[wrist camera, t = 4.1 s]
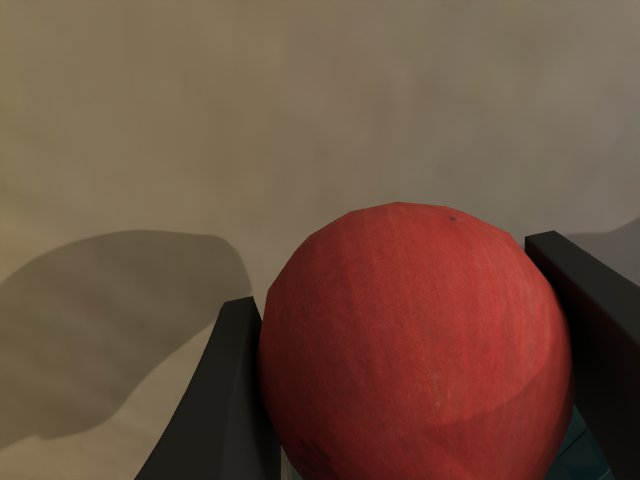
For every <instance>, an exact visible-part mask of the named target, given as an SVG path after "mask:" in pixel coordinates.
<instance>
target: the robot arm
mask: <svg viewBox="0 0 640 480" xmlns="http://www.w3.org/2000/svg"><path fill="white" fill-rule="evenodd" d="M525 253H526V255H527V256H528V257H529V258H530V259H531V261H532V262H533V263H534V264H535V266H536V267H537V268H538V269H539V271H540V272H541V273H542V274H543V275H544V277H545V278H546V279H547V280H548V282H549V283H550V284H551V285H552V287H553V288H554V289H555V290H556V291H557V294H558V297H559V299H560V302H561V304H562V307H563V310H564V312H565V315H566V318H567V320H568V323H569V329H570V340H571V350H572V361H573V372H574V382H575V395H574V405H575V406H576V408H577V410H578V411H579V413H580V415H581V416H582V418H583V420H584V421H585V423H586V425H587V426H588V428H589V430H590V431H591V433H592V435H593V436H594V438H595V440H596V442H597V444H598V445H599V447H600V449H601V451H602V453H603V455H604V457H605V458H606V460H607V463H608V465H609V467H610V469H611V471H612V473H613V475H614V477H615V480H640V287H639V286H637V285H635V284H634V283H632V282H631V281H629V280H628V279H626V278H624V277H623V276H621V275H620V274H618V273H617V272H615V271H614V270H612V269H611V268H609V267H608V266H606V265H605V264H603V263H602V262H600V261H599V260H597V259H596V258H594V257H593V256H591V255H590V254H588V253H587V252H585V251H584V250H582V249H581V248H580V247H578V246H577V245H575V244H574V243H572V242H571V241H569V240H568V239H566V238H565V237H563V236H562V235H560V234H559V233H557V232H556V231H554V230H553V231H549V232H544V233H540V234H535V235H530V236H526V237H525ZM261 327H262V320H261V317H260V314H259V312H258V309H257V306H256V304H255V301H254V298H253V296H251V297H246V298H242V299H237V300H232V301H228V302H225V303H224V304H223V306H222V307H221V310H220V312H219V315H218V318H217V320H216V323H215V326H214V328H213V331H212V333H211V336H210V338H209V341H208V343H207V345H206V348H205V350H204V353H203V355H202V357H201V359H200V362H199V364H198V366H197V368H196V370H195V372H194V375H193V377H192V379H191V381H190V383H189V385H188V387H187V389H186V391H185V393H184V395H183V397H182V399H181V401H180V403H179V405H178V407H177V409H176V411H175V412H174V414H173V416H172V418H171V420H170V422H169V424H168V426H167V427H166V429H165V431H164V433H163V434H162V436H161V438H160V439H159V441H158V443H157V444H156V446H155V448H154V449H153V451H152V453H151V454H150V456H149V457H148V459H147V461H146V462H145V464H144V465H143V467H142V468H141V470H140V471H139V473H138V474H137V476H136V477H135V479H134V480H281V442H280V440H279V438H278V435H277V433H276V431H275V429H274V427H273V425H272V422H271V420H270V418H269V416H268V414H267V411H266V409H265V407H264V405H263V403H262V400H261V397H260V391H259V385H258V379H257V368H256V356H257V350H258V345H259V339H260V333H261Z"/></svg>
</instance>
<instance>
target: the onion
mask: <svg viewBox="0 0 640 480" xmlns="http://www.w3.org/2000/svg"><path fill="white" fill-rule="evenodd" d="M256 368H257V379H258V385H259V391H260V397H261V400H262V403H263V405H264V407H265V409H266V411H267V414H268V416H269V418H270V420H271V422H272V425H273V427H274V429H275V431H276V433H277V435H278V438H279V440H280V442H281V444H282V446H283V449H284V451H285V453H286V455H287V457H288V460H289V462H290V463H291V464H292V466H293V467H294V468H295V469H296V471H297V472H298V473H299V475H300V476H301V477H302V478H303V480H543V479H544V477H545V475H546V474H547V472H548V470H549V468H550V466H551V465H552V463H553V461H554V459H555V457H556V455H557V453H558V451H559V449H560V447H561V445H562V443H563V441H564V438H565V436H566V433H567V430H568V427H569V424H570V421H571V418H572V415H573V405H574V395H575V382H574V372H573V361H572V350H571V340H570V329H569V323H568V320H567V318H566V315H565V312H564V310H563V307H562V304H561V302H560V299H559V297H558V294H557V291H556V290H555V289H554V288H553V287H552V285H551V284H550V283H549V282H548V280H547V279H546V278H545V277H544V275H543V274H542V273H541V272H540V271H539V269H538V268H537V267H536V266H535V264H534V263H533V262H532V261H531V259H530V258H529V257H528V256H527V255H526V253H525V252H524V251H523V250H522V249H521V247H520V246H519V245H518V244H517V242H516V241H515V240H514V239H513V238H512V236H511V235H510V234H509V233H507V232H505V231H503V230H501V229H499V228H497V227H494V226H492V225H490V224H488V223H486V222H484V221H481V220H479V219H477V218H475V217H473V216H471V215H469V214H466V213H464V212H461V211H458V210H455V209H452V208H449V207H446V206H437V205H426V204H415V203H404V202H395V203H390V204H385V205H380V206H375V207H371V208H366V209H361V210H356V211H351V212H348V213H347V214H345V215H343V216H342V217H340V218H338V219H337V220H335V221H333V222H332V223H330V224H328V225H327V226H325V227H323V228H322V229H320V230H318V231H317V232H315V233H313V234H311V235H310V236H309V237H308V238H307V239H306V240H305V241H304V242H303V243H302V244H301V245H300V246H299V248H298V249H297V250H296V251H295V252H294V253H293V255H292V256H291V258H290V259H289V261H288V262H287V264H286V265H285V266H284V268H283V269H282V271H281V272H280V274H279V275H278V277H277V278H276V280H275V281H274V283H273V284H272V285H271V287H270V288H269V290H268V293H267V298H266V304H265V310H264V316H263V322H262V327H261V333H260V339H259V345H258V350H257V356H256Z"/></svg>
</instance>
